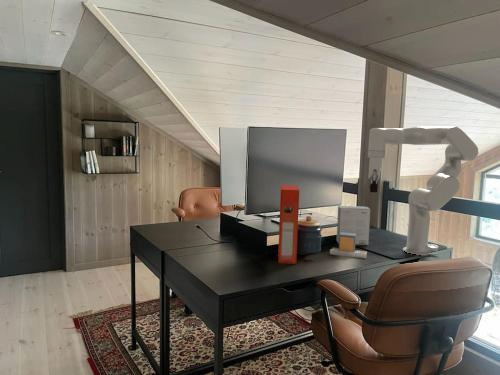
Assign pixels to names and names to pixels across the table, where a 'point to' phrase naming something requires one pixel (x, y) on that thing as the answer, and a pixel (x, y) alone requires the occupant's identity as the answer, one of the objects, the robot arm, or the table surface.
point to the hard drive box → (354, 223)
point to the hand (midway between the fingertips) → (373, 191)
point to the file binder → (288, 224)
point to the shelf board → (348, 253)
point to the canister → (308, 236)
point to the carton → (347, 241)
